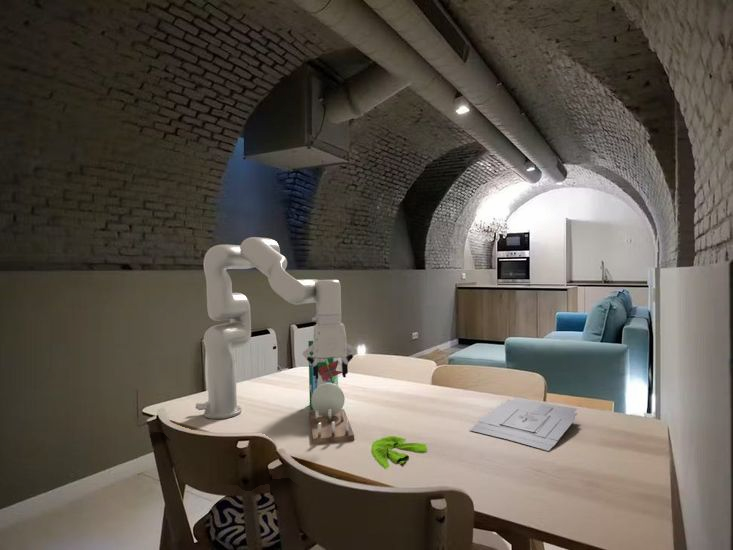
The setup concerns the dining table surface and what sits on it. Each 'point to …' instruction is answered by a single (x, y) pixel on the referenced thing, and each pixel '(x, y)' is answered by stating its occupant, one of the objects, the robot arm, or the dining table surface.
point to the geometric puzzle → (330, 370)
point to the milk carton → (312, 379)
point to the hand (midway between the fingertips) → (330, 377)
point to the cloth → (384, 451)
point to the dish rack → (330, 429)
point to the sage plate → (327, 399)
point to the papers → (527, 422)
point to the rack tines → (332, 422)
